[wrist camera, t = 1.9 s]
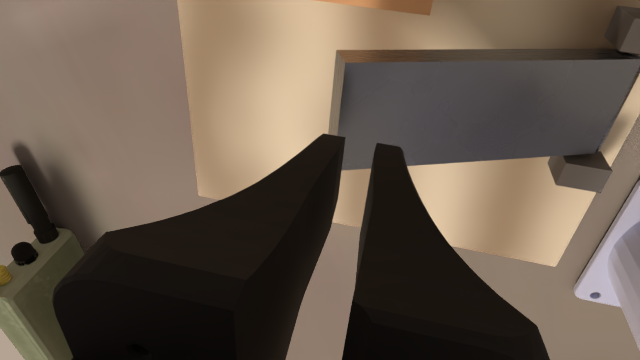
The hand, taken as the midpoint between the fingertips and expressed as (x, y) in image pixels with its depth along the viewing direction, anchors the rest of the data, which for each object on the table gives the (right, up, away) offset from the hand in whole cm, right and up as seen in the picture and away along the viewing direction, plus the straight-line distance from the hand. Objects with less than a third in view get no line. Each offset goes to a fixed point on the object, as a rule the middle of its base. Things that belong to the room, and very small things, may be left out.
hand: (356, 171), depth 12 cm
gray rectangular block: (+4, +2, +3) cm, 6 cm away
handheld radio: (-19, -9, +24) cm, 31 cm away
